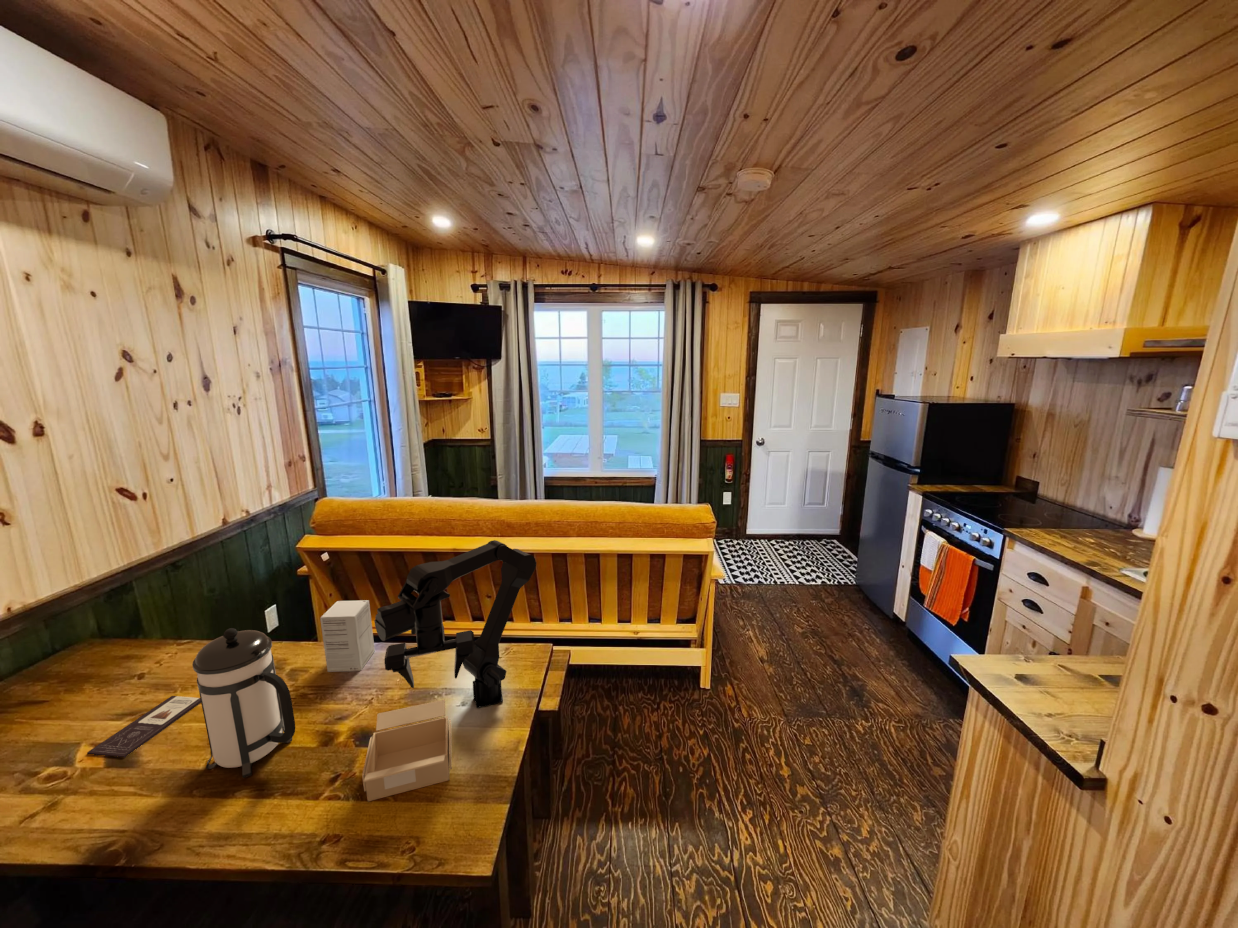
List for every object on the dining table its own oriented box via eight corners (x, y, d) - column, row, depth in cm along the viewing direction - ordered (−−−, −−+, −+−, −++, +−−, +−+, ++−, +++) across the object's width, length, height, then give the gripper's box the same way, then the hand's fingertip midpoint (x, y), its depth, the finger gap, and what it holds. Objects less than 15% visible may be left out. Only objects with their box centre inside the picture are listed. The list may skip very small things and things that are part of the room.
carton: (452, 738, 107) (450, 715, 106) (452, 779, 96) (450, 754, 95) (373, 756, 102) (370, 733, 100) (364, 802, 91) (361, 776, 90)
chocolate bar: (86, 752, 102) (171, 695, 119) (87, 756, 102) (172, 698, 119) (124, 755, 101) (204, 698, 118) (125, 759, 101) (204, 701, 119)
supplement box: (343, 652, 139) (336, 599, 135) (375, 650, 139) (370, 598, 136) (326, 672, 129) (318, 617, 126) (361, 671, 130) (354, 615, 127)
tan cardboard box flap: (445, 715, 105) (445, 715, 105) (445, 699, 108) (445, 699, 108) (376, 730, 101) (376, 730, 101) (377, 713, 103) (377, 714, 103)
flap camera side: (367, 773, 90) (367, 775, 90) (363, 780, 87) (363, 782, 87) (444, 754, 95) (444, 756, 95) (443, 760, 91) (444, 761, 91)
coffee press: (194, 798, 91) (165, 661, 85) (217, 741, 105) (194, 620, 99) (300, 765, 99) (281, 637, 93) (309, 716, 113) (292, 602, 107)
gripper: (470, 596, 115) (474, 653, 119) (386, 610, 109) (393, 669, 112) (473, 619, 105) (477, 680, 108) (380, 636, 99) (388, 700, 102)
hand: (434, 681), depth 108 cm, fingers open, 9 cm apart
